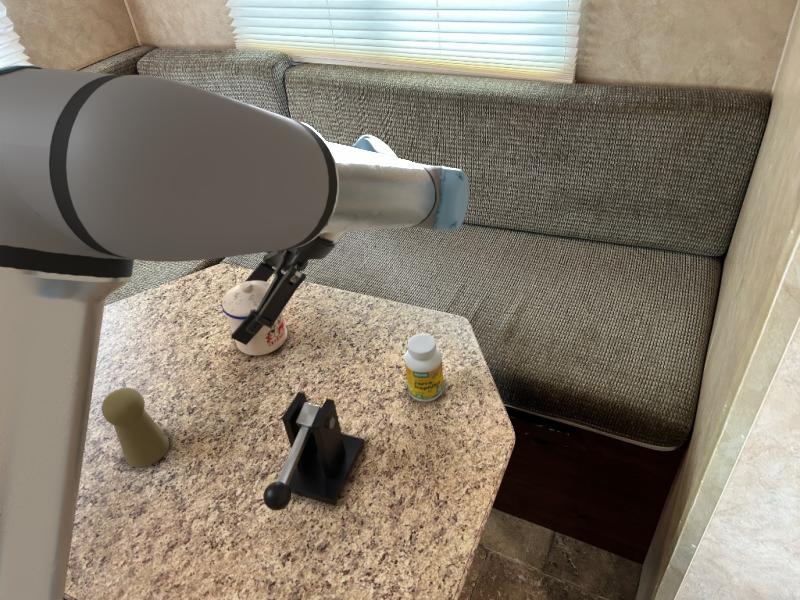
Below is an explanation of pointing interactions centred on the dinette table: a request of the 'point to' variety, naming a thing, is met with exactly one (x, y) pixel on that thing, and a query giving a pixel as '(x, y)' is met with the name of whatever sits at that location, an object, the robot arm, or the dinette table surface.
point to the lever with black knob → (291, 461)
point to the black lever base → (321, 453)
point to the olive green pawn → (134, 427)
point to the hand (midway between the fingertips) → (243, 314)
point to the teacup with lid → (239, 308)
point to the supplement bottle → (424, 368)
